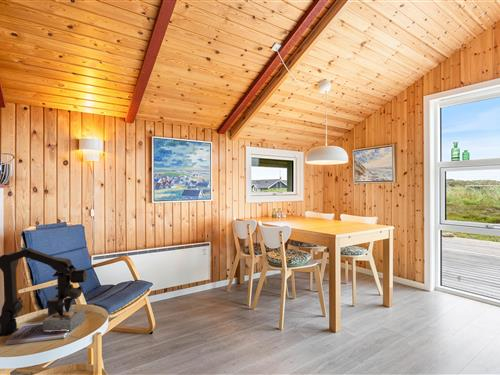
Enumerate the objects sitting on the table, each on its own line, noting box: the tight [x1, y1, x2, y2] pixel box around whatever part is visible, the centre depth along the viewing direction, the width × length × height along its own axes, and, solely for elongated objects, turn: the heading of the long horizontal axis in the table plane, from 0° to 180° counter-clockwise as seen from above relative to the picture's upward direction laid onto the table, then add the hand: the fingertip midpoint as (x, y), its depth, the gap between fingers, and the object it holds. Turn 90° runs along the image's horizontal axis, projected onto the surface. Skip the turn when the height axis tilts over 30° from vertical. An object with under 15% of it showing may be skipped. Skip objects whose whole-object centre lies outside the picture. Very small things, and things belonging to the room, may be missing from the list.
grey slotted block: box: [42, 309, 86, 333], centre depth 148 cm, size 14×12×6 cm
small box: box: [47, 296, 73, 317], centre depth 163 cm, size 11×6×10 cm, turn 168°
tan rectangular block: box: [55, 312, 74, 317], centre depth 148 cm, size 8×4×3 cm, turn 85°
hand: (64, 313), depth 148 cm, fingers open, 4 cm apart
